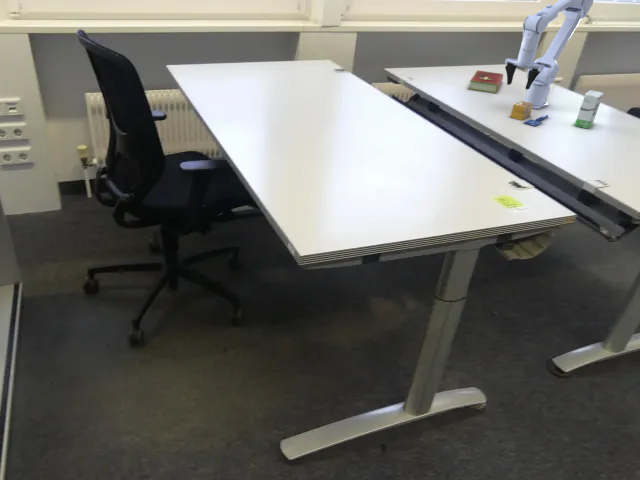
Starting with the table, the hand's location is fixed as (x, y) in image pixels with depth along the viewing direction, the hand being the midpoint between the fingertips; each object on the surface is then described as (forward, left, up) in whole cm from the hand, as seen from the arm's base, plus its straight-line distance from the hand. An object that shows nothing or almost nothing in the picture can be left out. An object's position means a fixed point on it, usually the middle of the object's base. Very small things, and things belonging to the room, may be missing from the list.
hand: (518, 86), depth 215 cm
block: (+5, +6, -9) cm, 12 cm away
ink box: (-6, +26, -10) cm, 28 cm away
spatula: (+5, +13, -9) cm, 17 cm away
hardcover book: (-25, -26, -10) cm, 37 cm away
